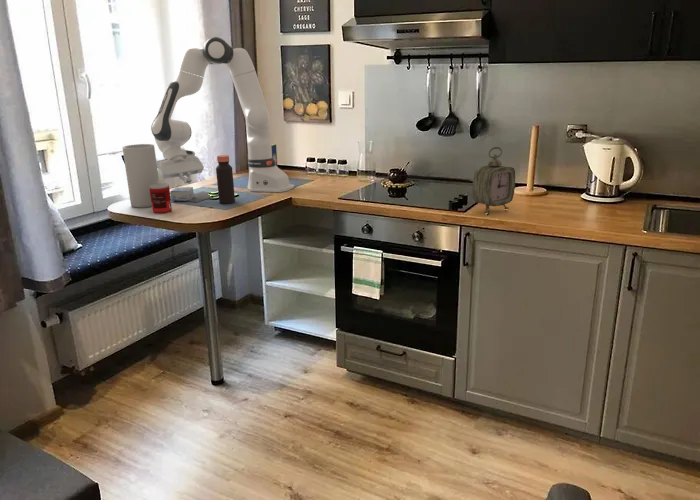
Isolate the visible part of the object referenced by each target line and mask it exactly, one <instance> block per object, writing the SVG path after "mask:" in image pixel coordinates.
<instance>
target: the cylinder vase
mask: <svg viewBox="0 0 700 500" xmlns="http://www.w3.org/2000/svg"><path fill="white" fill-rule="evenodd" d="M155 148H156V147H155V144H151V143H140V144H138V143H137V144H136V143H135V144H129V145H124V146H122V153H123V159H124V166H125V172H126V173H125V174H126V180H127V181H126V182H127V187H128V194H129V201H130V202H129V203H130V206H132V207H133V208H136V209H137V208H138V209H139V208H140V209H144V208H146V209H147V208H152V204H151V197H150V189H149V186H150V185H153V184H159V183H160V179H159V170H158V168H157V163H156V162H157V157H156V149H155Z"/></svg>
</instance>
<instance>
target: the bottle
mask: <svg viewBox="0 0 700 500" xmlns="http://www.w3.org/2000/svg"><path fill="white" fill-rule="evenodd" d="M216 161H217V163H218V165H217V166H216V168H215V173H216V175H215V176H216V183H217V193H218V202H219V204H222V205H229V204H233V203H235V202H236V197H235V196H236V195H235V187H234V183H235V182H234V174H233V167H232V166H231V165H230V164H229V163H230V156H229V155H228V154H221V155H220V154H219V155H217V156H216Z"/></svg>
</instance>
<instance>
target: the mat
mask: <svg viewBox="0 0 700 500" xmlns="http://www.w3.org/2000/svg"><path fill="white" fill-rule="evenodd" d="M211 192H212V191H202V190H201V191H198V192H196V193H194V197H193V198H192V199H190V200H189V201H186V202H189V203H200V202H203V201H207V200H209V199H211V196H210V195H208V194H209V193H211Z"/></svg>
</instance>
